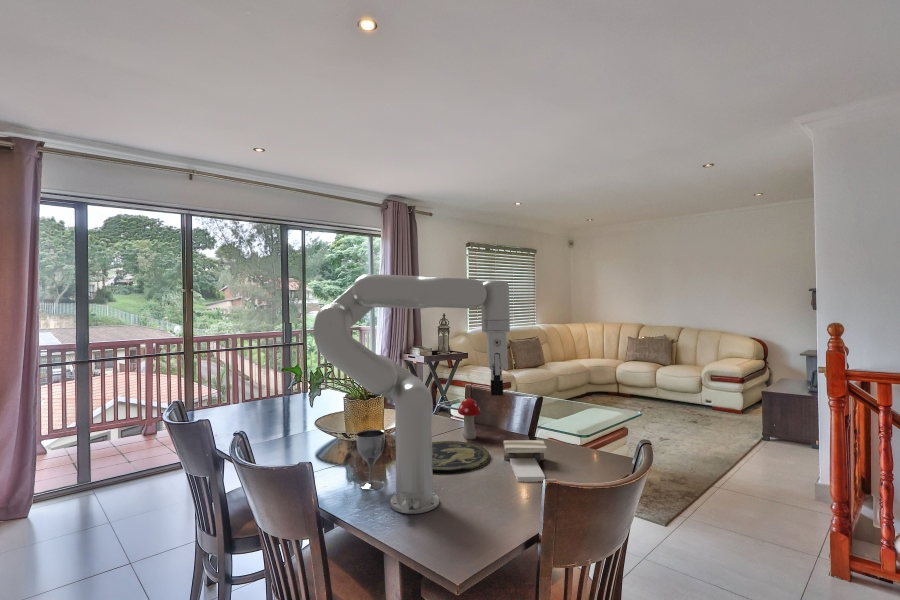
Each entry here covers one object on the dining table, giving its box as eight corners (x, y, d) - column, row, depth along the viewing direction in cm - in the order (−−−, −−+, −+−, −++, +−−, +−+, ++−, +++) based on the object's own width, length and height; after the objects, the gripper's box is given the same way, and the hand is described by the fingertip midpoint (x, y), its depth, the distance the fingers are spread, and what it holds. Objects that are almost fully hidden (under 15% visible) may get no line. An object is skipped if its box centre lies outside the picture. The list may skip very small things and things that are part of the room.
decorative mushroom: (455, 434, 183) (454, 396, 183) (475, 432, 186) (474, 395, 186) (463, 441, 174) (462, 401, 174) (484, 439, 176) (484, 400, 176)
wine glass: (391, 484, 133) (390, 432, 133) (369, 493, 127) (368, 438, 127) (373, 478, 139) (372, 428, 139) (351, 486, 133) (350, 433, 133)
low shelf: (547, 467, 146) (546, 447, 146) (505, 467, 146) (505, 447, 146) (543, 458, 154) (542, 440, 154) (503, 458, 154) (503, 440, 154)
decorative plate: (388, 466, 144) (414, 438, 174) (388, 472, 144) (414, 443, 174) (484, 472, 138) (494, 442, 168) (484, 478, 138) (494, 447, 168)
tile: (545, 483, 134) (545, 476, 134) (517, 483, 134) (517, 476, 134) (534, 464, 150) (534, 457, 150) (510, 464, 150) (510, 458, 150)
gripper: (512, 327, 117) (513, 400, 117) (507, 325, 132) (508, 389, 132) (482, 328, 117) (483, 400, 117) (481, 325, 132) (482, 389, 132)
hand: (496, 394), depth 125 cm, fingers closed
